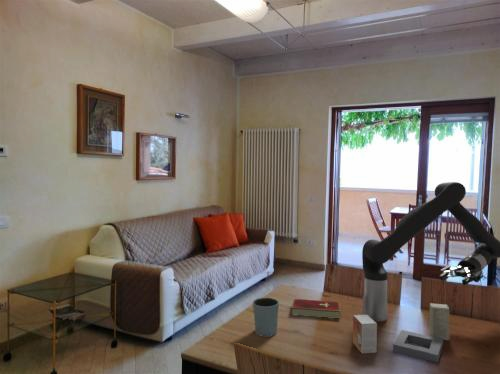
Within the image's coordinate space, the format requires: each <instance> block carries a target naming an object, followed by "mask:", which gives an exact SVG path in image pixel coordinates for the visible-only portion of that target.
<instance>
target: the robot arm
mask: <svg viewBox="0 0 500 374" xmlns="http://www.w3.org/2000/svg"><path fill="white" fill-rule="evenodd" d="M466 192H467V191H466V187H465V186H464V185H463V184H462V183H460V182H457V181H451V182H450V181H449V182H441V183H439V184H437V185H436V187H435V189H434V195H435V197H433V198H432V199H430V200H428V201H427V202H425V203H422V204H420V205H417V206H416V207H415V208H412V209H411V210H410V211H408V212H407V213H406V214H404V216H402V218H400V220H399V221H398V223H397V224H396V226H395V227H394V230H393V231H392V233H390V234H389V235H388V236H386V237H385V238H384V239H382V240H377V239H368V240H367V241H366V242H364V244H363V247H362V251H361V252H362V253H361V255H362V256H361V257H362V270H363V273H364V287H363V288H364V294H363V295H362V315H368V316H369V317H370V318H371V319H372V320H373V321H374V322H376V323H377V322H386V321H387V320H388V272H387V270H386V269H385V267H384V264H386V263H387V262H388V261H390V260H391V259H392V257H394V256H395V255H396V253H398V252H399V250H400V249H401V248H402V247H404V246H405V245H406V244H407V243H409V242H410V241H411V240H412V239H413V238H414V237H416V236H417V235H418V234H420V233H421V232H423V231H424V230H425V229H426V228H427V227H429V226H430V224H432V223H433V222H434V221H435V220H437V219H438V218H439V217H440V216H441V215H443V214H444V213H445V212H447V211H448V212H449V213H451V215H452V216H453V217H454V218H455V219H456V220H457V221H458V222H459V224H460V225H461V226H462V227H463V229H464V230H465V232H466V233H467V234H468V236H469V237H470V238H471V240H472V241H473V242H474V243H478V244H477V245H476V247H475V249H474V251H473V252H471V253H470V254H468V255H466V256H465V257H464V258H463V259H461V260H460V261H459V262H457V263H458V264H457V266H454V267H451V264H448V265H446V266H444V267H443V268H441V269H440V273H441V274H440V275H439V279H440V281H442V282H444V281H445V280H447V279H448V278H450V277H451V278H457V277H458V278H459V277H461V278H462V280H461V285H463V286H466V285H469V284H470V283H473V282H474V283H479V282H480V281H481V280H482V278H484V272H483V270H484V269H485V268H486V267H487V266H488V265H490V263H491V262H492V259H498V258H499V259H500V240H499V239H498V238H497V237H495V236H494V235H493V234H492V233H490V232H489V231H488V229H487V228H486V227H485V225H484V224H483V223H482V222H481V220H479V218H477V216H475V214H473V213H472V212H470V211H469V210H468V209H467V208H466V207H465V206H463V205H462V203H461V202H462V201H463V200H464V198H465V196H466V194H467V193H466Z"/></svg>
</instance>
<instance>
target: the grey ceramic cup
mask: <svg viewBox="0 0 500 374" xmlns="http://www.w3.org/2000/svg"><path fill="white" fill-rule="evenodd" d="M279 305H280V302H279V300H278V299H276V298H272V297H259V298H255V299H254V300H253V301H252V308H253V316H254V317H253V319H254V321H253V322H254V328H255V329H254V332H255V333H257V334H256V335H258V334H259V335H258V336H260V335H262V336H261V337H264V336H269V337H272V336H271V335H273V336H275V335H277V332H278V320H279V319H278V317H279V307H280V306H279ZM274 334H275V335H274Z"/></svg>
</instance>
